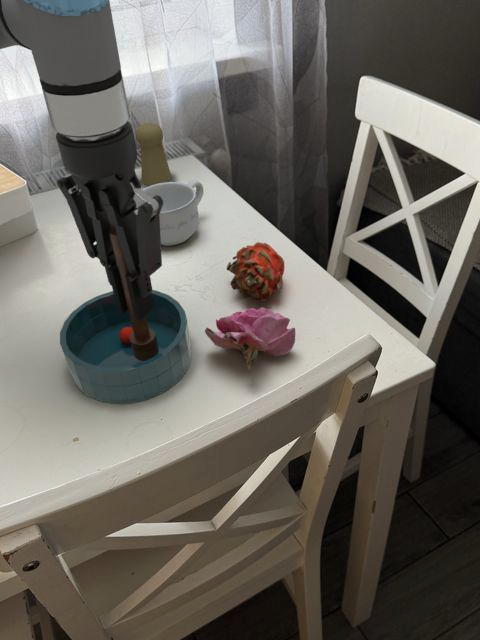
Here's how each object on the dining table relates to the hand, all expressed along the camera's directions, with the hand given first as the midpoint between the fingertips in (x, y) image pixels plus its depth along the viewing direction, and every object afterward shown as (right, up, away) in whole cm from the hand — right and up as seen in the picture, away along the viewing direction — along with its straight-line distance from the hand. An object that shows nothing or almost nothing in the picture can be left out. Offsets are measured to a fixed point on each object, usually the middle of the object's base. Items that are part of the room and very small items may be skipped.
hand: (136, 309), depth 75 cm
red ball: (-3, -3, +9) cm, 10 cm away
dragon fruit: (+15, +4, +19) cm, 25 cm away
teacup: (+1, +16, +31) cm, 35 cm away
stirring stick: (0, -5, +5) cm, 7 cm away
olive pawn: (-6, +30, +46) cm, 55 cm away
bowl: (-2, -6, +8) cm, 11 cm away
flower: (+14, -6, +8) cm, 18 cm away
